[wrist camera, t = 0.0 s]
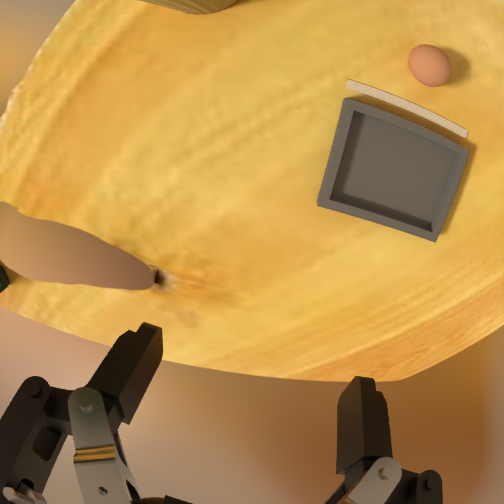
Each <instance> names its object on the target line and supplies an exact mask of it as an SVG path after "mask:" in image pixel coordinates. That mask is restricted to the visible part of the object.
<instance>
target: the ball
mask: <svg viewBox="0 0 504 504" xmlns="http://www.w3.org/2000/svg"><path fill="white" fill-rule="evenodd" d="M409 68H410V70H411V72H412V74H413V75H414V77H415V78H416V79H417V80H418V81H419V82H421V83H422V84H424V85H427V86H430V87H439V86H442V85H444V84H445V83H447V81H448V80H449V78H450V76H451V64H450V61H449V59H448V58H447V56H446V55H445V54H444V53H443V52H442V51H441V50H440V49H438V48H437V47H435V46H432V45H419V46H417V47H415V48H414V49H413V50H412V51H411V53H410V55H409Z"/></svg>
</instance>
